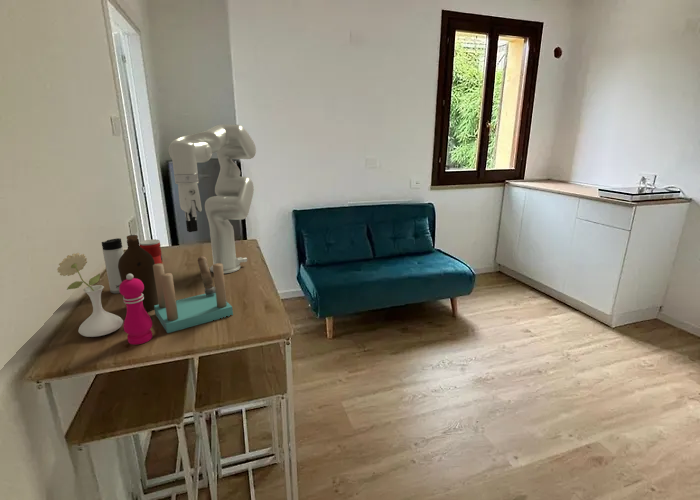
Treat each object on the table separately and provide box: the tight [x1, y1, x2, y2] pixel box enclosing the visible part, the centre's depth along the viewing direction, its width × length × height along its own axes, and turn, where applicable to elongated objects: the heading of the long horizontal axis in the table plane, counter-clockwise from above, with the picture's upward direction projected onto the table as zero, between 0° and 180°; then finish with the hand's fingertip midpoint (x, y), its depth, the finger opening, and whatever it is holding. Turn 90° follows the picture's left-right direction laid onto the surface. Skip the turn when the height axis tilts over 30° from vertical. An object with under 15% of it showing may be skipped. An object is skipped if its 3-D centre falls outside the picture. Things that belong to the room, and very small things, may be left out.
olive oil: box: [118, 234, 159, 313], centre depth 129 cm, size 11×11×25 cm
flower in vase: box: [56, 252, 124, 338], centre depth 113 cm, size 13×11×25 cm
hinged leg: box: [197, 255, 216, 295], centre depth 135 cm, size 3×3×14 cm
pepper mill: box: [119, 274, 153, 346], centre depth 109 cm, size 7×7×20 cm
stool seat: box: [153, 263, 234, 334], centre depth 125 cm, size 20×16×17 cm
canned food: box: [139, 238, 164, 264], centre depth 172 cm, size 8×8×11 cm
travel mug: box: [101, 237, 125, 294], centre depth 144 cm, size 6×7×20 cm
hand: (192, 231), depth 139 cm, fingers closed
